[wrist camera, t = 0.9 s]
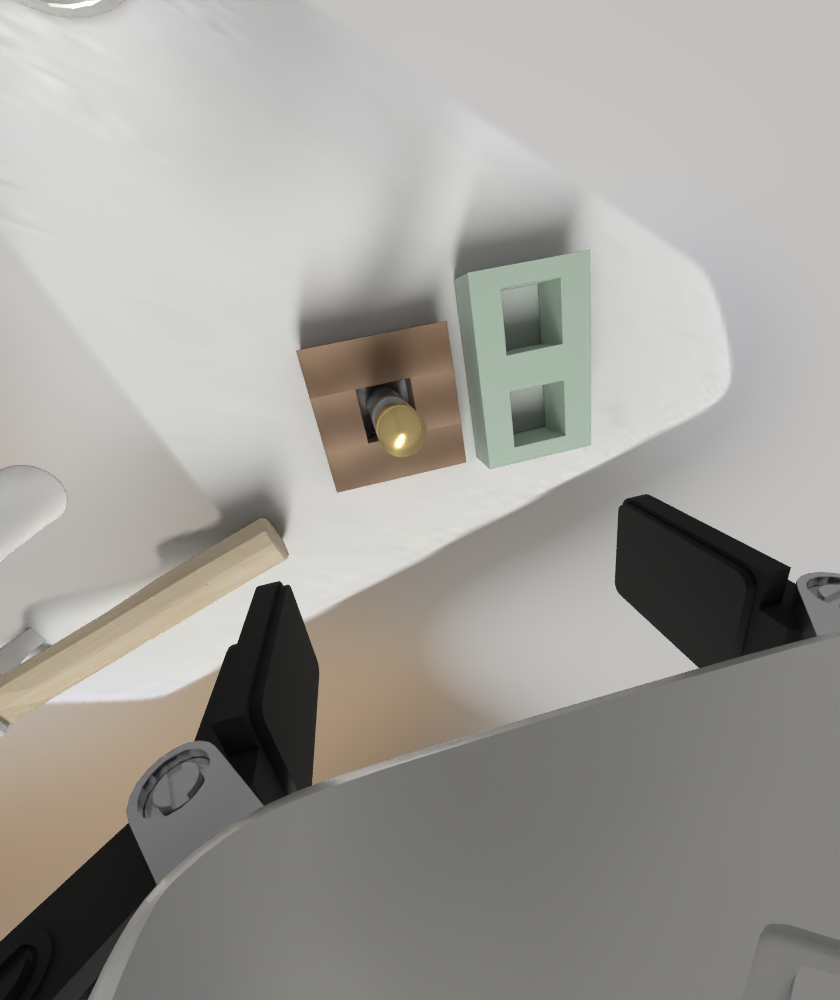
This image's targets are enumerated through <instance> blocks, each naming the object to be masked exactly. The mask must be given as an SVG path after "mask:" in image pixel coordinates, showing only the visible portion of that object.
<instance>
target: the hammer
mask: <svg viewBox="0 0 840 1000" xmlns="http://www.w3.org/2000/svg"><path fill="white" fill-rule="evenodd" d="M288 555H289V553H288V551H287V549H286V546H285V544H284V542H283V540H282V538H281V537H280V535H279V534H278V532H277V531H276V529H275V528H274V526H273V525H272V524H271V523H270V522H269V520H268V519H266V518H259V519H258V520H256V521H254V522H253V523H251V524H249V525H248V526H246V527H244V528H242V529H241V530H239V531H237V532H236V533H234V534H232V535H231V536H229V537H227V538H225V539H224V540H222V541H220V542H219V543H217V544H215V545H214V546H212V547H210V548H208V549H207V550H205V551H203V552H202V553H200V554H198V555H197V556H195V557H193V558H191V559H190V560H188V561H186V562H185V563H183V564H181V565H180V566H178V567H176V568H174V569H173V570H171V571H169V572H168V573H166V574H164V575H163V576H161V577H159V578H158V579H156V580H155V581H153V582H152V583H150V584H149V585H147V586H146V587H144V588H143V589H141V590H140V591H138V592H137V593H135V594H134V595H132V596H131V597H129V598H128V599H126V600H125V601H123V602H122V603H120V604H119V605H117V606H116V607H114V608H113V609H111V610H110V611H108V612H107V613H105V614H103V615H102V616H100V617H98V618H97V619H95V620H93V621H92V622H90V623H88V624H87V625H85V626H84V627H82V628H80V629H79V630H77V631H75V632H74V633H72V634H70V635H69V636H67V637H65V638H64V639H62V640H60V641H59V642H57V643H55V644H54V645H52V646H50V647H49V648H47V649H45V650H44V651H42V652H41V653H39V654H37V655H35V656H34V657H32V658H30V659H28V660H27V661H25V662H23V663H21V662H22V661H23V659H24V658H25V657H26V656H27V655H29V654H30V653H31V652H32V651H33V650H35V649H36V648H37V647H38V646H39V645H41V644H42V643H43V642H44V641H46V640H45V639H44V638H43V637H42V636H41V635H39V634H38V633H37V632H36V631H35V630H33V629H32V628H29V629H28V630H26V631H25V632H23V633H22V634H20V635H19V636H18V637H16V638H15V639H13V640H12V641H10V642H9V643H7V644H6V645H4V646H3V647H1V648H0V737H1V736H2V735H4V734H5V733H6V732H7V731H8V729H9V728H10V726H11V725H12V724H13V722H15V721H17V720H18V719H20V718H21V717H23V716H25V715H26V714H28V713H29V712H31V711H32V710H34V709H36V708H37V707H39V706H41V705H42V704H44V703H45V702H47V701H49V700H50V699H52V698H54V697H55V696H57V695H59V694H60V693H62V692H64V691H65V690H67V689H69V688H70V687H72V686H74V685H75V684H77V683H79V682H80V681H82V680H84V679H86V678H87V677H89V676H91V675H92V674H94V673H96V672H97V671H99V670H101V669H102V668H104V667H106V666H107V665H109V664H111V663H112V662H114V661H116V660H117V659H119V658H121V657H122V656H124V655H126V654H128V653H129V652H131V651H133V650H134V649H136V648H138V647H139V646H141V645H143V644H145V643H146V642H148V641H150V640H151V639H153V638H155V637H156V636H158V635H160V634H162V633H163V632H165V631H167V630H168V629H170V628H172V627H173V626H175V625H177V624H179V623H180V622H182V621H184V620H185V619H187V618H189V617H190V616H192V615H194V614H195V613H197V612H199V611H200V610H202V609H204V608H205V607H207V606H209V605H210V604H212V603H214V602H215V601H217V600H219V599H220V598H222V597H223V596H225V595H227V594H228V593H230V592H232V591H233V590H235V589H237V588H238V587H240V586H242V585H243V584H245V583H247V582H248V581H250V580H251V579H253V578H255V577H256V576H258V575H260V574H261V573H263V572H265V571H267V570H268V569H270V568H272V567H274V566H275V565H277V564H279V563H281V562H282V561H284V560H286V559H287V558H288Z"/></svg>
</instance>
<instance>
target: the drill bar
mask: <svg viewBox="0 0 840 1000" xmlns="http://www.w3.org/2000/svg"><path fill="white" fill-rule="evenodd" d="M367 407H368V411H369V414H370V417H371V420H372V422H373V425H374V428H375V431H376V434H377V436H378V439H379V442H380V444H381V446H382V448H383V449H384V450H385V451H386V452H388V453H389V454H391V455H393V456H396V457H408V456H411V455H413V454H415V453H417V452H418V451H419V450H420V449H421V448H422V446H423V445H424V443H425V441H426V437H427V427H426V424H425V421H424V420H423V418H422V417H421V416H420V415H419V414H418V413H417V412H416V411H415V410H414V409H413V408H412V407H411V406H410V405H409V404H408V403H407V402H406V401H405V400H404V399H403V398H402V397H401V396H400V395H399V394H398V393H397V392H396V391H395V390H393V389H391V388H388V387H381V388H378V389H376V390H374V391H373V392H372V393H371V395H370V396H369V398H368V402H367Z"/></svg>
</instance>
